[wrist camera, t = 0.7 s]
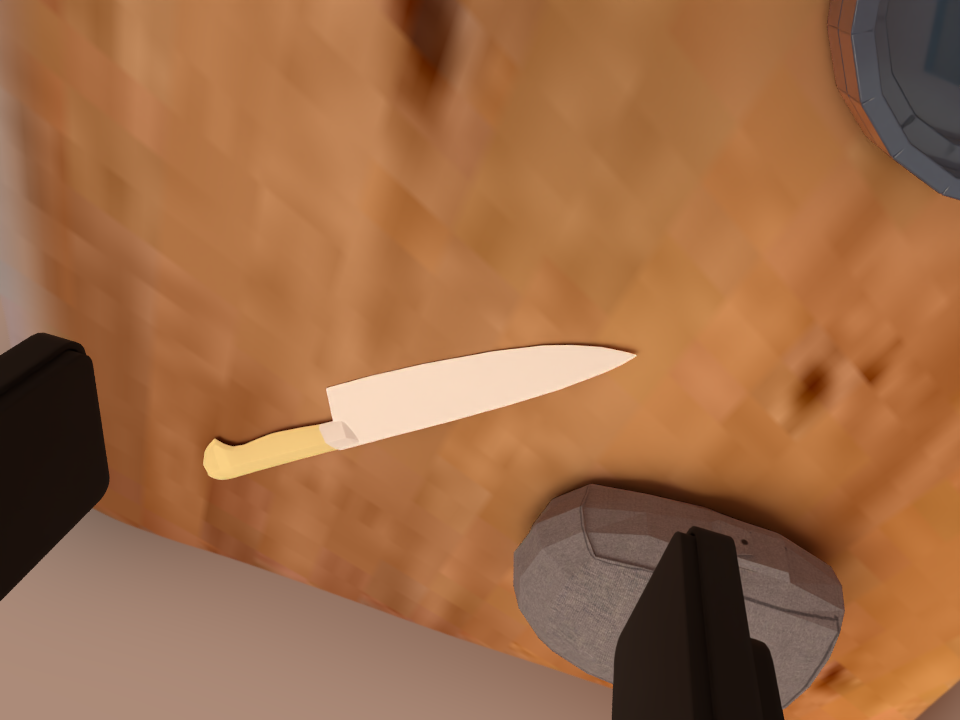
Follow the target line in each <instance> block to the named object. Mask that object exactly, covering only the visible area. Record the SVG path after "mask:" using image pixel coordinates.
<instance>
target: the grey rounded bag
mask: <svg viewBox="0 0 960 720" xmlns="http://www.w3.org/2000/svg"><path fill="white" fill-rule="evenodd" d="M692 526H697V527H700V528H704V529H707V530H710V531H714V532H717V533H720V534H724V535H727V536H731V537H732V538H733V540H734V542H735V546H736V552H737V558H738V564H739V570H740V577H741V583H742V589H743V595H744V601H745V608H746V614H747V620H748V626H749V632H750V638H753V639H757V640H760V641H762V642H764V643H765V644H766V645H767V647H768V648H769V650H770V652H771V656H772V659H773V663H774V668H775V673H776V679H777V684H778V689H779V694H780V700H781V705H782V709H784V708H786V707H787V706H789V705H790V704H791V703H792V702H793V701H794V700H795V699H796V698H798V697H799V696H800V695H801V694H802V693H803V692H804V691H805V690H806V689H808V688H809V687H810V685H811V684H812V682H813V681H814V680H815V678H816V677H817V675H818V674H819V672H820V671H821V670H822V668H823V667H824V665H825V664H826V662H827V661H828V660H829V658H830V656H831V653H832V651H833V648H834V646H835V643H836V641H837V639H838V636H839V634H840V630H841V625H842V621H843V616H844V612H845V610H844V601H843V592H842V585H841V583H840V582H839V580H838V578H837V576H836V575H835V573H834V571H833V569H832V568H831V566H829V565H828V564H826V563H825V562H823V561H822V560H820V559H819V558H817V557H815V556H814V555H812V554H811V553H809V552H807V551H806V550H804V549H803V548H801V547H799V546H798V545H796V544H795V543H793V542H791V541H790V540H788V539H787V538H785V537H783V536H782V535H780V534H779V533H776V532H773V531H770V530H767V529H764V528H761V527H758V526H755V525H751V524H748V523H745V522H742V521H739V520H736V519H734V518H731V517H729V516H726V515H724V514H721V513H718V512H716V511H713V510H711V509H708V508H706V507H702V506H698V505H693V504H689V503H684V502H680V501H676V500H671V499H667V498H663V497H658V496H654V495H649V494H644V493H639V492H634V491H628V490H623V489H617V488H612V487H606V486H601V485H596V484H589V485H587V486H584V487H582V488H579V489H576V490H574V491H571V492H569V493H566V494H564V495H561V496H559V497H556V498H554V499H552V500H551V502H550V503H549V504H548V506H547V507H546V508H545V509H544V511H543V512H542V513H541V515H540V516H539V517H538V519H537V520H536V521H535V522H534V524H533V525H532V528H531V530H530V533H529V534H528V535H527V536H526V538H525V539H524V540H523V542H522V543H521V544H520V545H519V547H518V548H517V549H516V550H515V552H514V585H513V586H514V590H515V594H516V598H517V602H518V606H519V609H520V611H521V612H522V614H523V615H524V617H525V618H526V620H527V621H528V623H529V624H530V626H531V627H532V629H533V630H534V632H535V633H536V635H537V636H538V638H539V639H540V640H541V641H542V642H544V643H545V644H546V645H547V646H548V647H549V648H550V649H551V650H552V651H553V652H555V653H556V654H558V655H559V656H561V657H563V658H564V659H566V660H567V661H569V662H570V663H572V664H573V665H575V666H576V667H578V668H580V669H581V670H583V671H584V672H586V673H587V674H590V675H592V676H595V677H597V678H600V679H602V680H604V681H607V682H609V683H612V684H613V674H614V655H615V649H616V645H617V642H618V638H619V636H620V634H621V632H622V630H623V628H624V626H625V625H626V623H627V621H628V619H629V617H630V615H631V613H632V611H633V610H634V608H635V606H636V604H637V602H638V600H639V598H640V596H641V595H642V593H643V591H644V589H645V587H646V585H647V583H648V581H649V580H650V578H651V576H652V574H653V572H654V570H655V568H656V566H657V565H658V563H659V561H660V559H661V557H662V555H663V553H664V551H665V549H666V548H667V546H668V544H669V542H670V540H671V538H672V536H673V535H674V533H675V532H677V531H679V532H682V533H687V531H688V530H689V528H691V527H692Z"/></svg>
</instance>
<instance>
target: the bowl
mask: <svg viewBox="0 0 960 720" xmlns="http://www.w3.org/2000/svg"><path fill="white" fill-rule="evenodd" d="M827 24H828V25H827V30H828V36H829V43H830V49H831V55H832V62H833V68H834V75H835V81H836V86H837V88H838V91H839V92H840V94H841V96H842V97H843V99H844V101H845V102H846V104H847V106H848V108H849V109H850V111H851V113H852V114H853V116H854V118H855V120H856V121H857V123H858V125H859V126H860V128H861V130H862V131H863V133H864V135H866V137H867V138H868V139H870V140H871V141H872V142H873V143H874V144H875V145H877V146H878V147H879V148H880V149H881V150H883V151H884V152H885V153H886V154H887V155H889V156H890V157H891V158H892V159H893V160H895V161H896V162H897V163H899V164H900V165H901V166H903V167H904V168H905V169H907V170H908V171H909V172H911V173H912V174H913V175H915V176H916V177H917V178H919V179H920V180H921V181H923V182H924V183H925V184H927V185H928V186H929V187H931V188H932V189H933V190H935V191H936V192H938V193H939V194H942V195H943V196H947V197H950V198H953V199H957V200H960V0H831V2H830V8H829V14H828V20H827Z"/></svg>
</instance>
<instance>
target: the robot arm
mask: <svg viewBox="0 0 960 720" xmlns="http://www.w3.org/2000/svg"><path fill="white" fill-rule="evenodd" d="M108 485H109V470H108V463H107V457H106V450H105V443H104V436H103V430H102V423H101V416H100V409H99V403H98V396H97V389H96V382H95V376H94V369H93V363H92V360H91V358H90V357H89V356H87V355H86V353H85V350H84V348H83V346H82V345H81V344H79V343H77V342H74V341H70V340H67V339H64V338H60V337H57V336H53V335H50V334H47V333H37V334H35V335H32V336H30V337H29V338H27V339H26V340H24V341H22V342H21V343H19V344H18V345H16V346H14V347H13V348H11V349H10V350H8V351H7V352H5V353H3V354H2V355H0V601H1V600H2V599H3V598H4V597H5V596H6V595H7V594H8V593H9V592H10V591H11V590H12V589H13V588H14V587H15V586H16V585H17V584H18V583H19V582H20V581H21V580H22V579H23V577H25V576H26V575H27V573H29V572H30V570H32V569H33V568H34V567H35V566H36V565H37V564H38V562H39V561H40V560H41V559H42V558H43V557H44V556H45V555H46V554H47V553H48V552H49V551H50V550H51V549H52V548H53V547H54V546H55V545H56V544H57V543H58V542H59V541H60V540H61V539H62V538H63V537H64V536H65V535H66V534H67V533H68V532H69V531H70V530H71V529H72V528H73V527H74V526H75V525H76V524H77V523H78V522H79V521H80V520H81V519H82V518H83V517H84V516H85V515H86V514H87V513H88V512H89V511H90V510H91V509H92V508H93V507H94V506H95V505H96V504H97V503H98V502H99V501H100V499H101V498H102V497H103V496H104V494H105V492H106V490H107V488H108ZM612 720H784V716H783V710H782V705H781V700H780V694H779V689H778V684H777V679H776V673H775V668H774V663H773V659H772V656H771V652H770V650H769V648H768V647H767V645H766V644H765V643H764V642H762V641H760V640H757V639H753V638H750V632H749V626H748V620H747V614H746V608H745V601H744V595H743V589H742V583H741V577H740V570H739V564H738V558H737V552H736V546H735V542H734V540H733V538H732V537H731V536H727V535H724V534H720V533H717V532H714V531H710V530H707V529H704V528H700V527H697V526H692V527H691V528H689V530H688V531H687V533H682V532H679V531H677V532H675V533H674V535H673V536H672V538H671V540H670V542H669V544H668V546H667V548H666V549H665V551H664V553H663V555H662V557H661V559H660V561H659V563H658V565H657V566H656V568H655V570H654V572H653V574H652V576H651V578H650V580H649V581H648V583H647V585H646V587H645V589H644V591H643V593H642V595H641V596H640V598H639V600H638V602H637V604H636V606H635V608H634V610H633V611H632V613H631V615H630V617H629V619H628V621H627V623H626V625H625V626H624V628H623V630H622V632H621V634H620V636H619V638H618V642H617V645H616V649H615V655H614V674H613V703H612Z"/></svg>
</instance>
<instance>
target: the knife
mask: <svg viewBox="0 0 960 720" xmlns="http://www.w3.org/2000/svg"><path fill="white" fill-rule="evenodd" d="M636 356H637V355H635V354H631V353H628V352H624V351H619V350H614V349H609V348H604V347H595V346H580V345H542V346H534V347H525V348H517V349H508V350H500V351H492V352H486V353H481V354H475V355H470V356H464V357H459V358H453V359H448V360H442V361H437V362H431V363H426V364H421V365H417V366H412V367H408V368H403V369H399V370H395V371H390V372H386V373H381V374H377V375H373V376H368V377H365V378H361V379H357V380H354V381H350V382H347V383H343V384H339V385H336V386H332V387H328V388H326V390H327V395H328V400H329V405H330V409H331V414H332V419H333V421H332V422H327V423H323V424H319V425H313V426H306V427H301V428H296V429H291V430H286V431H281V432H276V433H272V434H269V435H266V436H264V437H261V438H259V439H256V440H253V441H251V442H249V443H247V444H245V445H239V446H229V445H226V444H223V443H222V442H220V441H218V440H217V439H214V440H213V441H212V442H211V443H210V444H209V445H208V447H207V448H206V450H205V452H204V461H203V465H204V467H205V469H206V471H207V473H208V475H209V476H210V477H212V478H215V479H219V480H225V479H231V478H235V477H238V476H242V475H245V474H249V473H252V472H256V471H259V470H263V469H267V468H270V467H274V466H278V465H281V464H285V463H289V462H292V461H296V460H300V459H304V458H307V457H311V456H315V455H319V454H322V453H326V452H330V451H334V450H338V449H339V450H343V449H347V448H351V447H354V446H358V445H362V444H366V443H370V442H373V441H377V440H381V439H385V438H388V437H392V436H396V435H400V434H404V433H408V432H411V431H415V430H419V429H423V428H427V427H431V426H435V425H438V424H442V423H446V422H450V421H454V420H457V419H461V418H464V417H468V416H472V415H475V414H479V413H482V412H486V411H489V410H493V409H497V408H500V407H504V406H507V405H511V404H515V403H518V402H521V401H524V400H528V399H531V398H534V397H537V396H541V395H544V394H547V393H550V392H554V391H557V390H560V389H563V388H565V387H568V386H571V385H573V384H576V383H579V382H582V381H584V380H587V379H589V378H592V377H594V376H597V375H600V374H602V373H605V372H607V371H610V370H612V369H614V368H616V367H618V366H620V365H622V364H624V363H626V362H627V361H629V360H631V359H632V358H634V357H636Z"/></svg>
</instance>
